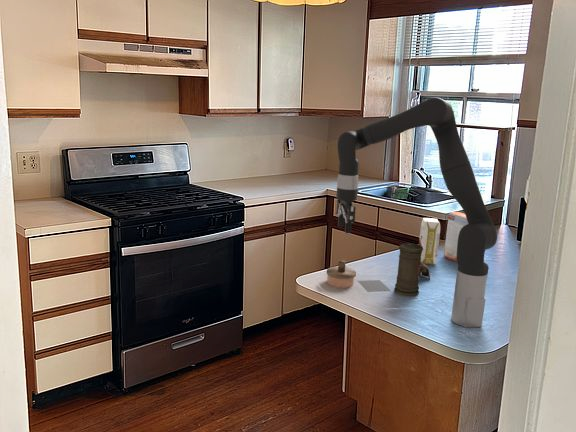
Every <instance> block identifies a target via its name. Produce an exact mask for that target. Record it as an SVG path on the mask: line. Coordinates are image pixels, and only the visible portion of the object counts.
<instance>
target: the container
mask: <svg viewBox="0 0 576 432" xmlns="http://www.w3.org/2000/svg"><path fill="white" fill-rule="evenodd" d="M398 248H399V255H398V267H397V268H398V269H397V275H396V283H395V285H394V288H393V289H394V293H396V294H397V295H400V296H401V297H402V296H403V297H417V296H418V295H419V294H420V290H419V289H420V287H419V282H420V276H419V270H420V266H421V265H420V262H421V253H422V251H423V247H422V246H420V245H419V243H418V244H417V243H412V242H403V243H400V244H399V247H398Z"/></svg>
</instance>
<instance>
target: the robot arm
mask: <svg viewBox="0 0 576 432" xmlns="http://www.w3.org/2000/svg"><path fill="white" fill-rule="evenodd" d="M454 112H455V111H454V110H453V106H452V105H451V104H450V103H449V102H448V101H446V100H444V99H442V98H440V97H430V98H427V99H425V100H423V101H422V102H420V103H418V104H417V105H414V106H412V107H411V108H409V109H407V110H404V111H402V112H400V113H398V114H395V115H392V116H390V117H387V118H383V119H380V120H378V121H375V122H372V123H369V124H368V125H365V126H364V127H362V128H358V129H355V130H352V131H351V130H350V131H344V132H342V133H341V134H340V135H339V137H338V139H337V145H336V146H337V154H338V155H337V156H338V159H339V160H338V161H339V165H338V176H337V180H336V181H337V182H336V183H337V185H336V197H335V199H336V200H337V202H336V210H335V211H336V212H335V213H336V214H335V215H337V218H338V219H337V227H338V228H344V233H345V234H351V233H352V228H353V227H352V225H353V223H355V222H356V209H357V208H356V205H353V202H354V201H355V202H356V201H357V199H358V192H359V167H360V162H359V159H357V155H356V151H358V150H361V149H364V148H367V147H369V146H371V145H375V144H379V143H382V142H385V141H388V140H390V139H392V138H395V137H397V136H398V135H401V134H402V133H404V132H406V131H408V130H411V129H414V128H419V127H426V126H429V127H430V128H431V130H432V133H433V135H434V137H435V140H436V143H437V147H438V159H439V167H440V171H441V175H442V177H443V180H444V184H445V186H446V189H447V190H448V192H449V194H451V196H452V197H453V199H454V200H455V201H456V202H457V203H458V204H459V206H460V207H461V209H462V210H463V212H464V214H465V215H466V218H467V221H468V224H467V225H465V226H463V227H462V228H461V230H460V232H459V236H458V243H457V256H456V259H457V262H456V263H457V270H456V277H455V286H454V292H453V293H454V294H453V301H452V309H451V317H450V321H452V323H454V324H456V325H459V326H461V327H463V328H464V329H465V328H479V327H481V328H482V326H483V319H484V312H485V307H486V305H485V304H486V298H485V297H486V296H485V295H486V290H487V289H486V287H487V281H488V274H489V264H488V263H487V262H485V253H486V250H490V249H491V248H494V246H495V245H496V244H497V240H498V233H497V232H498V231H497V229H496V226H495V224H494V222H493V220H492V218H491V216H490V213H489V211H488V209H487V207H486V205H485V203H484V200H483V197H482V193H481V191H480V188H479V185H478V183H477V180H476V176H475V172H474V171H473V167H472V165H471V162H470V161H471V160H470V159H469V157H468V155H467V152H466V149H465V147H464V144H463V142H462V140H461V137H460V133H459V131H458V127H457V121H456V118H455V117H456V116H455V113H454Z"/></svg>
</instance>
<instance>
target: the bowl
mask: <svg viewBox="0 0 576 432" xmlns="http://www.w3.org/2000/svg"><path fill="white" fill-rule="evenodd" d="M326 278H327V279H326V282H327V284H328V285H330V286H331V287H335V288H340V289H341V288H345V289H346V288H351V287H353V286H354V283H355V277H354V278H350V279H339V278H334V277H331V276H329V275H328V274H326Z"/></svg>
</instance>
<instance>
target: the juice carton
mask: <svg viewBox="0 0 576 432" xmlns="http://www.w3.org/2000/svg"><path fill="white" fill-rule="evenodd" d="M440 234H441V223H440V221H439V220H438V218H432V217H431V218H430V217H422V221H421V223H420V231H419V238H418V239H419V240H418V245H420V246H422V247H423V251H422V253H421V262H422V263H423V264H425V265H432V266H433V265H436V263H437V259H438V252H439V251H438V250H439V246H440V245H439V242H440V237H441V235H440Z"/></svg>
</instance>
